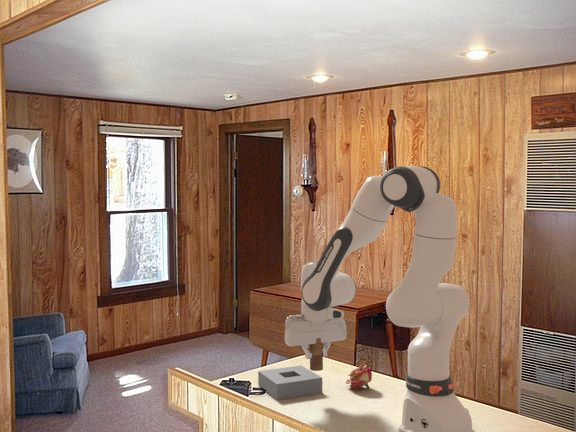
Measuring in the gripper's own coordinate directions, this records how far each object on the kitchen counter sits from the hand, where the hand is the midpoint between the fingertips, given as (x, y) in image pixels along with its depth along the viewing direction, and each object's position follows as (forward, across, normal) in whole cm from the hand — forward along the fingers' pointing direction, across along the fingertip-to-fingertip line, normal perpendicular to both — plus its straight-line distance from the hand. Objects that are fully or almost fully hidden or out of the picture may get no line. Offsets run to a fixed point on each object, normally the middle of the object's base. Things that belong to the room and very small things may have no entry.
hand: (316, 357), depth 184 cm
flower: (+14, +18, +5) cm, 23 cm away
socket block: (+13, -3, +14) cm, 19 cm away
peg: (+4, 0, 0) cm, 4 cm away
